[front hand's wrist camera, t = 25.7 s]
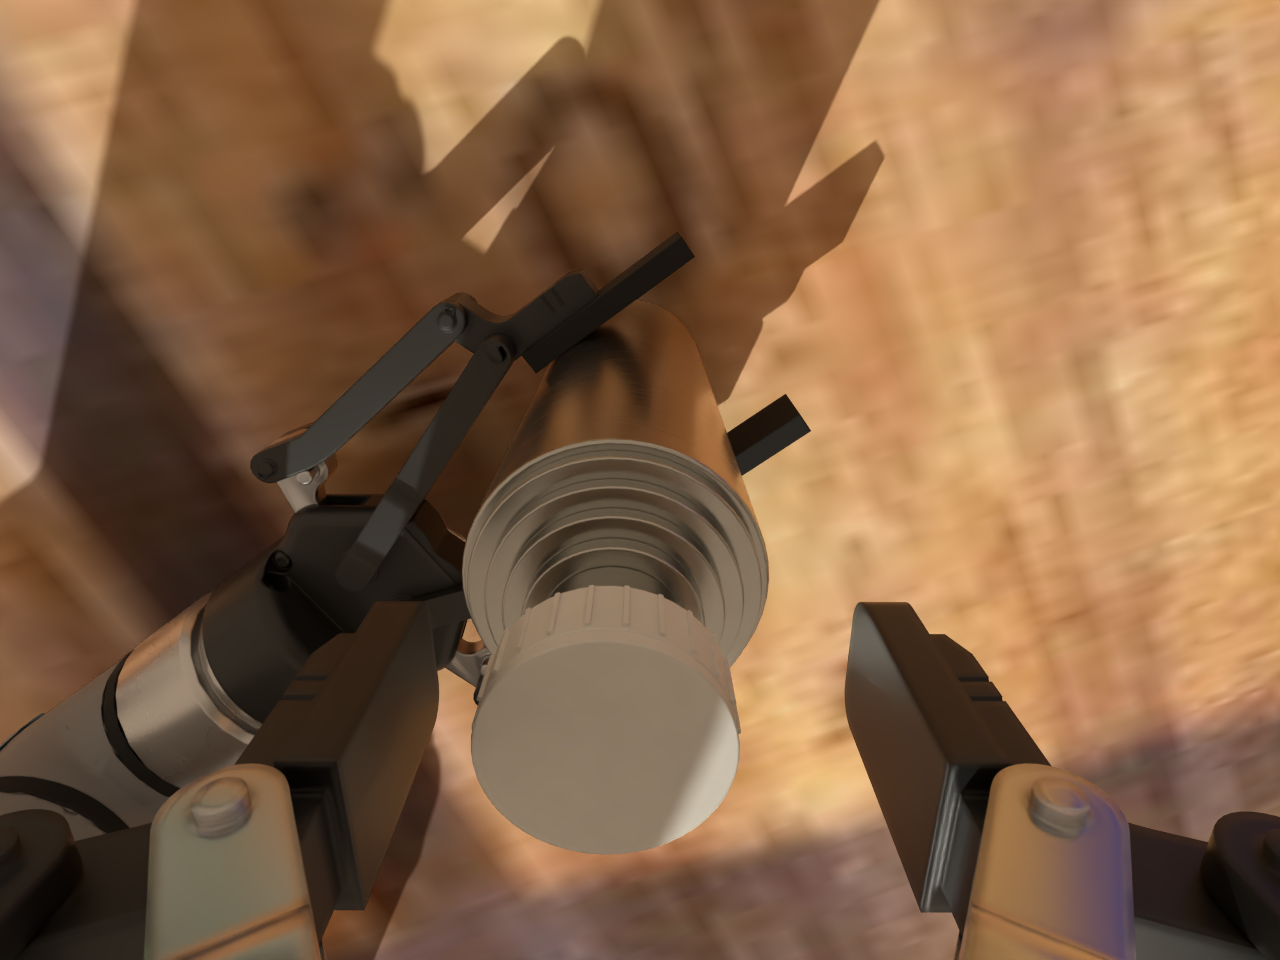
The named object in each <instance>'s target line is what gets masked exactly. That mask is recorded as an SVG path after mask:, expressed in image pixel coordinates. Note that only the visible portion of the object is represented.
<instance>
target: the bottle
mask: <svg viewBox="0 0 1280 960" xmlns="http://www.w3.org/2000/svg"><path fill="white" fill-rule="evenodd" d="M462 583H463V591H464V596H465V601H466V605H467V608H468V611H469V613H470V616H471V619H472V622H473V624H474V626H475V627H476V629H477V632H478V633H479V635H480V637H481V639H482V641H483V643H484V645H485V647H486V648H487V649H488V651H489V652H490V654H493V655H495V653H496V650H497V648H498V646H499V644H500V641H501V638H502V635H503V632H504V630H505V629H508V630H509V629H510V628H511V626H512V625H513V624H514V623H515V622H516V621H517V620H518V619H519V618H520V617H521V616H523V615H524V614H525V611H526V609H528V608H529V607H530V608H531V609H532V608H533V607H535V606H536V605H538V604H540V603H542V602H544V601H545V600H547V599H549V598H551V597H554V596H555V594H556V593H558V592H560V594H561V593H564V592H568V591H571V590H575V589H579V588H586V587H589V585H594V586H621V587H624V586H625V585H626V586H630V588H635V589H640V590H644V591H647V592H650V593H653V594H656V595H658V594H661V595H664V598H666V599H668V600H670V601H672V602H674V603H676V604H677V605H679V606H680V607H682V608H684V609H685V610H687V611H688V610H690V611H692V612H693V616H694V617H695V618H696V619H698V620H699V621H700V622H701V624H702V625H703V626H704V627H705V628H706V629H707V630H708V631H709V633H710V632H713V633H714V634H715V639H716V643H717V645H718V647H719V649H720V651H721V653H722V655H723V658H727V659H728V662H729V667H731V666H732V664H733V663H734V662H735V661H736V659H737V658H738V657H739V656H740V654H741V653H742V651H743V649H744V648H745V647H746V645H747V644H748V642H749V640H750V639H751V637H752V635H753V634H754V632H755V630H756V628H757V626H758V623H759V621H760V618H761V616H762V614H763V610H764V606H765V602H766V599H767V592H768V583H769V567H768V557H767V552H766V547H765V542H764V539H763V537H762V534H761V531H760V528H759V525H758V522H757V519H756V516H755V513H754V510H753V508H752V505H751V502H750V499H749V496H748V493H747V490H746V487H745V484H744V481H743V479H742V476H741V473H740V470H739V467H738V464H737V461H736V458H735V455H734V453H733V450H732V447H731V444H730V441H729V438H728V435H727V432H726V429H725V426H724V424H723V421H722V418H721V415H720V412H719V409H718V406H717V403H716V400H715V397H714V395H713V392H712V389H711V386H710V383H709V380H708V377H707V374H706V371H705V368H704V366H703V363H702V360H701V357H700V354H699V351H698V348H697V345H696V343H695V341H694V339H693V337H692V335H691V334H690V332H689V331H688V329H687V328H686V327H685V326H684V324H683V323H682V322H681V321H680V320H679V319H678V318H676V317H675V316H674V315H673V314H672V313H670V312H669V311H667V310H665V309H664V308H662V307H660V306H657V305H655V304H652V303H649V302H646V301H641V300H635V301H634V302H632V303H631V304H630V305H628V306H627V307H626V308H624V309H623V310H622V311H620V312H619V313H617V314H616V315H615V316H613V317H612V318H611V319H609V320H608V321H607V322H605V323H604V324H602V325H601V326H600V327H598V328H597V329H596V330H594V331H593V332H592V333H590V334H589V335H588V336H586V337H585V338H583V339H582V340H581V341H579V342H578V343H577V344H575V345H574V346H573V347H571V348H570V349H568V350H567V351H566V352H564V353H563V354H562V355H560V356H559V357H558V358H556V359H555V360H553V361H552V362H551V363H550V364H549V366H548V368H547V370H546V372H545V374H544V377H543V379H542V381H541V383H540V385H539V387H538V389H537V391H536V393H535V395H534V397H533V399H532V401H531V403H530V405H529V407H528V409H527V411H526V413H525V415H524V417H523V419H522V422H521V424H520V426H519V428H518V430H517V432H516V434H515V436H514V438H513V440H512V442H511V444H510V446H509V448H508V450H507V452H506V454H505V456H504V458H503V460H502V462H501V464H500V467H499V469H498V471H497V473H496V475H495V477H494V479H493V481H492V483H491V485H490V487H489V489H488V491H487V493H486V495H485V497H484V499H483V501H482V503H481V505H480V507H479V509H478V512H477V514H476V516H475V518H474V520H473V523H472V525H471V527H470V530H469V532H468V535H467V539H466V543H465V547H464V551H463V561H462Z"/></svg>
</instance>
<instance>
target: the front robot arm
mask: <svg viewBox="0 0 1280 960" xmlns="http://www.w3.org/2000/svg"><path fill="white" fill-rule="evenodd" d="M988 678H989V677H988V676H987V674H986V673H985V671H984V670H983V669H982V667H981V666H980V664H979V663H978V661H977V660H976V659H975V657H974V656H973V654H971V653H970V652H969V651H967V650H966V649H965V648H963V647H962V646H960V645H959V644H958V643H956V642H955V641H953V640H952V639H951V638H949V637H948V636H946V635H945V634H929V633H928V631H927V630H926V628H925V626H924V625H923V623H922V622H921V620H920V619H919V617H918V616H917V614H916V612H915V611H914V609H913V608H912V606H911V605H910V604H909V603H907V602H860V603H858V604H857V605H856V608H855V611H854V615H853V623H852V631H851V639H850V648H849V656H848V664H847V673H846V681H845V707H846V714H847V720H848V723H849V727H850V730H851V732H852V735H853V737H854V740H855V743H856V745H857V748H858V750H859V753H860V756H861V758H862V761H863V763H864V766H865V769H866V771H867V774H868V776H869V779H870V781H871V784H872V787H873V789H874V792H875V794H876V797H877V800H878V802H879V805H880V807H881V810H882V813H883V815H884V818H885V820H886V823H887V826H888V828H889V831H890V833H891V836H892V839H893V841H894V844H895V846H896V849H897V852H898V854H899V857H900V859H901V862H902V865H903V867H904V870H905V872H906V875H907V877H908V880H909V883H910V885H911V888H912V890H913V893H914V896H915V898H916V901H917V903H918V906H919V909H920V911H921V912H952V914H953V916H954V918H955V921H956V923H957V925H958V928H959V935H958V940H957V944H956V949H955V954H954V959H953V960H1280V817H1277V816H1273V815H1269V814H1264V813H1257V812H1235V813H1230V814H1227V815H1225V816H1223V817H1222V818H1220V819H1219V820H1218V821H1217V822H1216V824H1215V826H1214V828H1213V831H1212V834H1211V837H1210V839H1209V842H1204V841H1200V840H1196V839H1191V838H1187V837H1183V836H1179V835H1175V834H1170V833H1166V832H1162V831H1158V830H1153V829H1149V828H1145V827H1142V826H1138V825H1134V824H1131V823H1128V822H1127V820H1126V817H1125V815H1124V814H1123V812H1122V811H1121V809H1120V808H1119V806H1118V805H1117V804H1116V803H1115V802H1114V801H1113V800H1112V799H1111V798H1110V797H1109V796H1108V795H1107V794H1106V793H1105V792H1103V791H1102V790H1101V789H1099V788H1098V787H1097V786H1095V785H1094V784H1092V783H1090V782H1089V781H1087V780H1085V779H1084V778H1082V777H1079V776H1077V775H1075V774H1073V773H1071V772H1068V771H1065V770H1062V769H1059V768H1056V767H1052V766H1051V765H1050V763H1049V762H1048V761H1047V759H1046V758H1045V756H1044V755H1043V754H1042V752H1041V751H1040V749H1039V748H1038V746H1037V745H1036V744H1035V742H1034V741H1033V739H1032V738H1031V737H1030V735H1029V734H1028V732H1027V731H1026V729H1025V728H1024V727H1023V725H1022V724H1021V722H1020V721H1019V720H1018V718H1017V717H1016V715H1015V714H1014V712H1013V711H1012V710H1011V708H1010V707H1009V705H1008V704H1007V703H1006V701H1002V695H1001V694H1000V693H999V691H998V690H997V688H996V687H995V686H994V684H993V683H992V682H989V679H988ZM438 703H439V683H438V674H437V665H436V657H435V648H434V640H433V632H432V623H431V615H430V610H429V607H428V605H427V603H426V602H424V601H377V602H375V603H374V604H373V606H372V607H371V609H370V610H369V612H368V613H367V615H366V617H365V618H364V620H363V621H362V623H361V625H360V626H359V628H358V629H357V631H356V632H355V633H339V634H338V635H336V636H335V637H334V638H332V639H331V640H329V641H328V642H327V643H325V644H324V645H322V646H321V647H320V648H318V649H317V650H316V651H314V652H313V653H312V654H311V655H310V657H309V658H308V660H307V661H306V663H305V664H304V665H303V667H302V668H301V670H300V671H299V673H298V674H297V675H296V680H293V681H292V683H291V684H290V685H289V687H288V688H287V690H286V691H285V693H284V694H283V699H282V700H279V701H278V703H277V704H276V706H275V707H274V708H273V710H272V711H271V713H270V714H269V716H268V717H267V718H266V720H265V721H264V723H263V724H262V726H261V727H260V728H259V730H258V731H257V733H256V734H255V736H254V737H253V738H252V740H251V741H250V743H249V744H248V746H247V747H246V749H245V750H244V751H243V753H242V754H241V756H240V757H239V759H238V760H237V761H236V763H235V764H234V765H232V766H228V767H224V768H221V769H218V770H215V771H212V772H209V773H207V774H205V775H203V776H201V777H198V778H196V779H195V780H193V781H191V782H190V783H188V784H186V785H185V786H183V787H182V788H181V789H179V790H178V791H177V792H175V793H174V794H173V795H172V796H171V797H170V798H169V799H168V800H167V801H166V802H165V803H164V804H163V805H162V806H161V808H160V809H159V811H158V812H157V814H156V815H155V817H154V820H153V822H152V823H148V824H144V825H141V826H137V827H132V828H128V829H124V830H120V831H115V832H111V833H107V834H103V835H98V836H94V837H90V838H86V839H82V840H77V841H75V840H74V837H73V835H72V832H71V829H70V826H69V824H68V822H67V820H66V819H65V817H64V816H62V815H61V814H59V813H57V812H54V811H52V810H45V809H28V810H21V811H16V812H11V813H7V814H3V815H0V960H327V959H326V954H325V949H324V944H323V940H322V937H323V934H324V932H325V930H326V927H327V925H328V923H329V920H330V918H331V915H332V913H333V911H334V910H365V907H366V905H367V902H368V899H369V897H370V894H371V891H372V889H373V886H374V883H375V881H376V878H377V875H378V873H379V870H380V868H381V865H382V862H383V860H384V857H385V854H386V852H387V849H388V846H389V844H390V841H391V839H392V836H393V833H394V831H395V828H396V825H397V823H398V820H399V817H400V815H401V812H402V810H403V807H404V804H405V802H406V799H407V796H408V794H409V791H410V788H411V786H412V783H413V781H414V778H415V775H416V773H417V770H418V767H419V765H420V762H421V759H422V757H423V754H424V752H425V749H426V746H427V744H428V741H429V738H430V736H431V733H432V730H433V728H434V725H435V721H436V717H437V711H438Z"/></svg>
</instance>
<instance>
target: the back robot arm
mask: <svg viewBox="0 0 1280 960" xmlns="http://www.w3.org/2000/svg"><path fill="white" fill-rule="evenodd" d="M694 257H695V256H694V255H693V253H692V252H691V250H690V249H689V247H688V246H687V244H686V243H685V241H684V240H683V238H682V237H681V236H680V234H679V233H678V232H676V233H675V234H674V235H672V236H671V237H670V238H668V239H667V240H666V241H664V242H663V243H662V244H660V245H659V246H658V247H656V248H655V249H654V250H652V251H651V252H650V253H648V254H647V255H646V256H644V257H643V258H642V259H640V260H639V261H638V262H636V263H635V264H634V265H632V266H631V267H630V268H628V269H627V270H626V271H624V272H623V273H622V274H620V275H619V276H618V277H616V278H615V279H614V280H612V281H611V282H610V283H608V284H607V285H606V286H604V287H603V288H602V289H600V290H598V289H597V287H596V286H595V285H594V283H593V282H592V281H591V279H590V278H589V276H588V275H587V274H586V272H585V271H584V270H583V269H581V270H577V271H573V272H569V273H567V274H566V275H565V276H563V277H562V278H561V279H559V280H558V281H557V282H555V283H554V284H553V285H551V286H550V287H549V288H548V289H546V290H545V291H544V292H542V293H541V294H540V295H538V296H537V297H536V298H534V299H533V300H532V301H531V302H529V303H528V304H527V305H525V306H524V307H523V308H521V309H520V310H519V311H517V312H516V313H514V314H512V315H509V316H498V315H495V314H493V313H491V312H489V311H488V310H486V309H485V308H483V307H482V306H480V305H479V304H478V303H477V302H476V300H475V299H474V298H473V297H472V296H470V295H469V294H466V293H457V294H455V295H453V296H451V297H449V298H447V299H446V300H444V301H442V302H441V303H439V304H438V305H436V306H435V307H433V308H432V309H431V310H430V311H429V312H428V313H427V314H426V315H425V316H424V317H423V318H422V319H421V320H420V321H419V322H418V323H417V324H416V325H415V326H414V327H413V328H412V329H411V330H410V331H409V332H407V333H406V334H405V335H404V336H403V337H402V338H401V339H400V340H399V341H398V342H397V343H396V344H395V345H394V346H393V347H392V348H391V349H390V350H389V351H388V352H387V353H386V354H385V355H384V356H383V357H382V358H381V359H380V360H379V361H378V362H376V363H375V364H374V365H373V366H372V367H371V368H370V369H369V370H368V371H367V372H366V373H365V374H364V375H363V376H362V377H361V378H360V379H359V380H358V381H357V382H356V383H355V384H354V385H353V386H352V387H351V388H350V389H349V390H348V391H346V392H345V393H344V394H343V395H342V396H341V397H340V398H339V399H338V400H337V401H336V402H335V403H334V404H333V405H332V406H331V407H330V408H329V409H328V410H327V411H326V412H325V413H324V414H323V415H322V416H321V417H320V418H319V419H318V420H317V421H315V422H312V423H310V424H307V425H305V426H302V427H300V428H297V429H295V430H292V431H290V432H287V433H286V434H284V435H283V436H282V437H280V438H279V439H277V440H276V441H274V442H273V443H271V444H270V445H268V446H267V447H266V448H264V449H263V450H262V451H260V452H259V453H257V454H256V455H255V456H253V458H252V460H251V470H252V472H253V474H254V475H255V476H256V477H257V479H259V480H261V481H263V482H266V483H275V482H277V483H278V485H279V487H280V488H281V490H282V492H283V493H284V495H285V497H286V498H287V500H288V502H289V503H290V505H291V507H292V508H293V510H294V512H295V514H294V515H293V516H292V518H291V520H290V522H289V524H288V528H287V531H286V533H285V535H284V536H283V537H282V538H281V539H279V540H278V541H277V542H275V543H274V544H273V545H271V546H270V547H269V548H267V549H266V550H265V551H263V552H262V553H261V554H259V555H258V556H257V557H255V558H254V559H253V560H251V561H250V562H248V563H247V564H246V565H244V566H243V567H242V568H240V569H239V570H238V571H236V572H235V573H234V574H232V575H231V576H230V577H228V578H227V579H226V580H224V581H223V582H222V583H221V584H219V585H218V586H217V587H216V589H215V590H214V591H213V592H211V593H208V594H205V595H204V596H203V597H201V598H200V599H199V600H197V601H196V602H195V603H193V604H192V605H191V606H189V607H188V608H187V609H185V610H184V611H183V612H181V613H180V614H179V615H177V616H176V617H175V618H173V619H172V620H171V621H169V622H168V623H167V624H165V625H164V626H163V627H161V628H160V629H159V630H157V631H156V632H155V633H153V634H152V635H151V636H149V637H148V638H147V639H145V640H144V641H143V642H141V643H140V644H139V645H137V646H136V647H135V649H133V650H132V651H131V652H129V653H128V654H127V655H126V656H125V657H124V658H123V659H121V660H120V661H119V662H117V663H116V664H114V665H113V666H112V667H110V668H109V669H107V670H106V671H105V672H103V673H102V674H100V675H99V676H98V677H96V678H95V679H93V680H92V681H91V682H89V683H88V684H86V685H85V686H84V687H82V688H81V689H79V690H78V691H77V692H75V693H74V694H72V695H71V696H69V697H68V698H67V699H65V700H64V701H62V702H61V703H60V704H58V705H57V706H56V707H54V708H53V709H51V710H50V711H49V712H47V713H45V714H40V715H39V716H37V717H36V718H34V719H33V720H31V721H30V722H28V723H27V724H26V725H25V726H23V727H22V728H21V729H19V730H18V731H17V732H16V733H14V734H13V735H12V736H11V737H10V738H9V739H7V740H6V741H5V742H4V743H3V744H2V745H1V746H0V815H3V814H7V813H11V812H16V811H21V810H28V809H45V810H52V811H54V812H57V813H59V814H61V815H62V816H64V817H65V819H66V820H67V822H68V824H69V826H70V829H71V832H72V835H73V837H74V840H75V841H77V840H82V839H86V838H90V837H94V836H98V835H103V834H107V833H111V832H115V831H120V830H124V829H128V828H132V827H137V826H141V825H144V824H148V823H152V822H153V820H154V817H155V815H156V814H157V812H158V811H159V809H160V808H161V806H162V805H163V804H164V803H165V802H166V801H167V800H168V799H169V798H170V797H171V796H172V795H173V794H174V793H175V792H177V791H178V790H179V789H181V788H182V787H183V786H185V785H186V784H188V783H190V782H191V781H193V780H195V779H196V778H198V777H201V776H203V775H205V774H207V773H209V772H212V771H215V770H218V769H221V768H224V767H228V766H232V765H234V764H235V763H236V761H237V760H238V759H239V757H240V756H241V754H242V753H243V751H244V750H245V749H246V747H247V746H248V744H249V743H250V741H251V740H252V738H253V737H254V736H255V734H256V733H257V731H258V730H259V728H260V727H261V726H262V724H263V723H264V721H265V720H266V718H267V717H268V716H269V714H270V713H271V711H272V710H273V708H274V707H275V706H276V704H277V703H278V701H279V700H282V699H283V694H284V693H285V691H286V690H287V688H288V687H289V685H290V684H291V683H292V681H293V680H296V675H297V674H298V673H299V671H300V670H301V668H302V667H303V665H304V664H305V663H306V661H307V660H308V658H309V657H310V655H311V654H312V653H313V652H314V651H316V650H317V649H318V648H320V647H321V646H322V645H324V644H325V643H327V642H328V641H329V640H331V639H332V638H334V637H335V636H336V635H338V634H339V633H355V632H356V631H357V629H358V628H359V626H360V625H361V623H362V621H363V620H364V618H365V617H366V615H367V613H368V612H369V610H370V609H371V607H372V606H373V604H374V603H375V602H377V601H424V602H426V603H427V605H428V607H429V610H430V615H431V623H432V632H433V640H434V648H435V657H436V665H437V671H439V670H441V669H443V668H447V669H448V670H450V671H451V672H453V673H454V674H456V675H457V676H459V677H461V678H462V679H464V680H465V681H467V682H468V683H470V684H471V685H473V686H475V687H476V689H475V692H474V701H475V703H476V704H477V705H478V704H479V701H477V696H478V693H479V690H480V687H481V684H482V681H483V677H484V674H485V671H486V668H487V665H488V661H489V658H490V655H491V654H490V652H489V651H488V649H487V648H486V647H485V645H484V643H483V641H482V640H481V641H478V642H468V641H465V640H463V639H462V637H463V633H464V630H465V626H466V623H467V619H470V618H471V616H470V613H469V611H468V608H467V605H466V601H465V596H464V591H463V583H462V561H463V551H464V547H465V542H464V541H462V540H461V539H459V538H458V537H456V536H455V535H453V534H452V533H450V532H449V531H448V530H447V528H446V526H445V524H444V522H443V520H442V518H441V517H440V515H439V513H438V512H437V511H436V510H435V508H434V507H433V506H432V505H431V504H430V503H429V502H428V501H427V500H424V499H425V497H426V495H427V494H428V492H429V491H430V489H431V488H432V486H433V485H434V483H435V482H436V480H437V479H438V477H439V475H440V474H441V472H442V471H443V469H444V468H445V466H446V465H447V463H448V462H449V460H450V458H451V457H452V455H453V454H454V452H455V451H456V449H457V448H458V446H459V445H460V443H461V442H462V440H463V439H464V437H465V435H466V434H467V432H468V431H469V429H470V428H471V426H472V425H473V423H474V422H475V420H476V419H477V417H478V416H479V414H480V412H481V411H482V409H483V408H484V406H485V405H486V403H487V402H488V400H489V399H490V397H491V396H492V394H493V393H494V391H495V389H496V388H497V386H498V385H499V383H500V382H501V380H502V379H503V377H504V376H505V374H506V373H507V371H508V370H509V368H510V366H511V365H512V363H513V362H514V361H515V360H516V359H517V358H519V357H520V356H523V357H524V359H525V360H526V361H527V363H528V364H529V365H530V366H531V368H532V369H533V370H534V371H535V373H537V372H539V371H540V370H541V369H543V368H544V367H545V366H547V365H548V364H549V363H551V362H552V361H553V360H555V359H556V358H558V357H559V356H560V355H562V354H563V353H564V352H566V351H567V350H568V349H570V348H571V347H573V346H574V345H575V344H577V343H578V342H579V341H581V340H582V339H583V338H585V337H586V336H588V335H589V334H590V333H592V332H593V331H594V330H596V329H597V328H598V327H600V326H601V325H602V324H604V323H605V322H607V321H608V320H609V319H611V318H612V317H613V316H615V315H616V314H617V313H619V312H620V311H622V310H623V309H624V308H626V307H627V306H628V305H630V304H631V303H632V302H634V301H635V300H636V299H638V298H639V297H641V296H642V295H643V294H645V293H646V292H647V291H649V290H650V289H651V288H653V287H654V286H656V285H657V284H658V283H660V282H661V281H662V280H664V279H665V278H666V277H668V276H669V275H671V274H672V273H673V272H675V271H676V270H677V269H679V268H680V267H681V266H683V265H684V264H685V263H687V262H688V261H690V260H691V259H692V258H694ZM454 341H455V342H457V343H459V344H460V345H462V346H463V347H465V348H466V349H468V350H469V351H471V352H473V353H474V355H473V357H472V358H471V360H470V362H469V363H468V365H467V366H466V368H465V369H464V371H463V373H462V374H461V376H460V377H459V379H458V381H457V382H456V384H455V385H454V387H453V388H452V390H451V392H450V393H449V395H448V396H447V398H446V400H445V401H444V403H443V404H442V406H441V407H440V409H439V411H438V412H437V414H436V415H435V417H434V419H433V420H432V422H431V423H430V425H429V427H428V428H427V430H426V431H425V433H424V434H423V436H422V438H421V439H420V441H419V442H418V444H417V446H416V447H415V449H414V450H413V452H412V453H411V455H410V457H409V458H408V460H407V461H406V463H405V465H404V466H403V468H402V469H401V471H400V472H399V474H398V476H397V477H396V479H395V480H394V482H393V483H392V485H391V486H390V488H389V489H388V490H387V492H386V493H385V494H326V491H325V486H324V485H325V481H326V480H327V479H328V478H329V477H330V476H331V475H332V474H333V473H334V472H335V471H336V469H337V460H336V454H335V452H336V451H337V450H338V449H340V448H341V447H342V446H343V445H344V444H345V443H346V442H347V441H349V440H350V439H351V438H352V437H353V436H354V435H355V434H357V433H358V432H359V431H360V430H361V429H362V428H363V427H364V426H365V425H366V424H367V423H368V422H369V421H370V420H372V419H373V418H374V417H375V416H376V415H377V414H378V413H379V412H380V411H381V410H382V409H383V408H384V407H385V406H386V405H387V404H388V403H390V402H391V401H392V400H393V399H394V398H395V397H396V396H397V395H398V394H399V393H400V392H401V391H402V390H403V389H404V388H405V387H407V386H408V385H409V384H410V383H411V382H412V381H413V380H414V379H415V378H416V377H417V376H418V375H419V374H420V373H421V372H422V371H424V370H425V369H426V368H427V367H428V366H429V365H430V364H431V363H432V362H433V361H434V360H435V359H436V358H437V357H438V356H439V355H440V354H442V353H443V352H444V351H445V350H446V349H447V348H448V347H449V346H450V345H451V344H452V343H453V342H454ZM810 431H811V430H810V429H809V427H808V426H807V424H806V423H805V421H804V420H803V418H802V417H801V415H800V414H799V412H798V411H797V409H796V408H795V407H794V405H793V404H792V402H791V401H790V399H789V398H788V397H787V395H786V394H785V395H783V396H782V397H780V398H779V399H777V400H776V401H774V402H773V403H771V404H770V405H768V406H767V407H765V408H764V409H762V410H761V411H759V412H758V413H756V414H755V415H753V416H752V417H750V418H749V419H747V420H746V421H744V422H743V423H741V424H740V425H738V426H737V427H735V428H734V429H732V430H731V431H729V432H728V433H727V435H728V438H729V441H730V444H731V447H732V450H733V453H734V455H735V458H736V461H737V464H738V467H739V470H740V473H741V476H742V475H744V474H745V473H747V472H748V471H750V470H752V469H753V468H755V467H756V466H758V465H759V464H761V463H762V462H764V461H765V460H767V459H769V458H770V457H772V456H773V455H775V454H776V453H778V452H779V451H781V450H782V449H784V448H785V447H787V446H789V445H790V444H792V443H793V442H795V441H796V440H798V439H799V438H801V437H802V436H804V435H806V434H807V433H809V432H810ZM423 500H424V501H423Z"/></svg>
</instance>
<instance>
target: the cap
mask: <svg viewBox="0 0 1280 960" xmlns="http://www.w3.org/2000/svg"><path fill="white" fill-rule="evenodd" d="M477 701H479V704H478V707H477V710H476V714H475V717H474V720H473V723H472V735H471V754H472V761H473V766H474V769H475V772H476V775H477V779H478V781H479V783H480V785H481V787H482V789H483V791H484V793H485V794H486V795H487V797H488V798H489V800H490V801H491V803H492V804H493V805H494V806H495V807H496V809H497V810H498V811H499V812H500V813H501V814H502V815H503V816H504V817H505V818H507V819H508V820H509V821H510V822H511V823H512V824H514V825H515V826H517V827H518V828H520V829H521V830H522V831H524V832H525V833H527V834H529V835H531V836H533V837H535V838H537V839H539V840H541V841H543V842H546V843H548V844H551V845H553V846H556V847H560V848H564V849H567V850H571V851H577V852H582V853H590V854H624V853H632V852H638V851H643V850H647V849H652V848H655V847H658V846H661V845H664V844H666V843H669V842H671V841H673V840H675V839H677V838H680V837H681V836H683V835H685V834H686V833H688V832H690V831H691V830H693V829H694V828H696V827H697V826H698V825H700V824H701V823H702V822H703V821H705V820H706V819H707V818H708V817H709V816H710V815H711V814H712V813H713V812H714V811H715V810H716V809H717V807H718V806H719V805H720V803H721V802H722V801H723V799H724V798H725V796H726V794H727V792H728V791H729V789H730V787H731V785H732V782H733V780H734V777H735V774H736V771H737V766H738V761H739V745H740V743H739V736H738V734H740V733H741V729H740V723H739V718H738V712H737V707H736V700H735V695H734V689H733V684H732V678H731V673H730V667H729V662H728V659H727V658H723V655H722V653H721V651H720V649H719V647H718V645H717V643H716V639H715V634H714V633H713V632H710V633H709V631H708V630H707V629H706V628H705V627H704V626H703V625H702V624H701V622H700V621H699V620H698V619H696V618H695V617H694V616H693V612H692V611H690V610H688V611H687V610H685V609H684V608H682V607H680V606H679V605H677V604H676V603H674V602H672V601H670V600H668V599H666V598H664V595H661V594H658V595H656V594H653V593H650V592H647V591H644V590H640V589H635V588H630V586H626V585H625V586H624V587H621V586H594V585H589V587H586V588H579V589H575V590H571V591H568V592H564V593H561V594H560V592H558V593H556V594H555V596H554V597H551V598H549V599H547V600H545V601H544V602H542V603H540V604H538V605H536V606H535V607H533V608H532V609H531V608H530V607H529V608H528V609H526V611H525V614H524V615H523V616H521V617H520V618H519V619H518V620H517V621H516V622H515V623H514V624H513V625H512V626H511V628H510V629H509V630H508V629H505V630H504V632H503V635H502V638H501V641H500V644H499V646H498V648H497V650H496V653H495V655H493V654H491V655H490V658H489V661H488V665H487V668H486V671H485V674H484V677H483V681H482V684H481V687H480V690H479V693H478V696H477Z"/></svg>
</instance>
